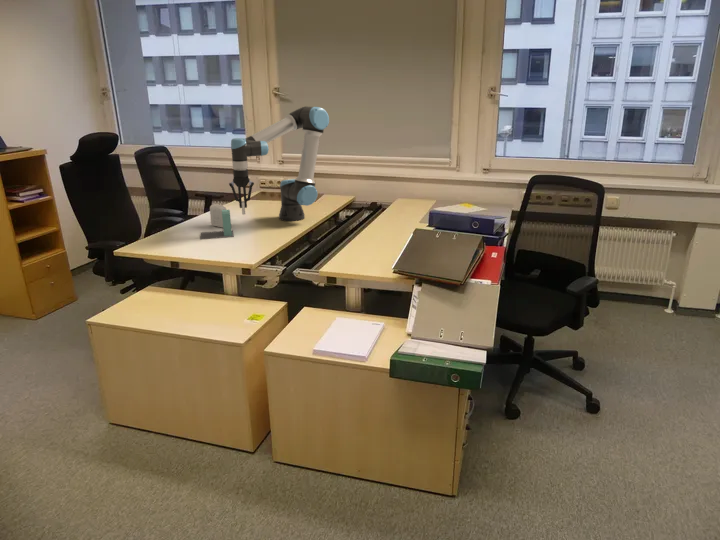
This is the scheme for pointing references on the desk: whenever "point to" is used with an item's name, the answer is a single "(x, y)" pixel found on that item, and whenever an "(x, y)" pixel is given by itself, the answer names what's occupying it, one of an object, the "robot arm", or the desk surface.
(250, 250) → the desk surface
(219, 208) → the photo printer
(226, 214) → the block
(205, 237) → the mat
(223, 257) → the desk surface
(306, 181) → the robot arm
